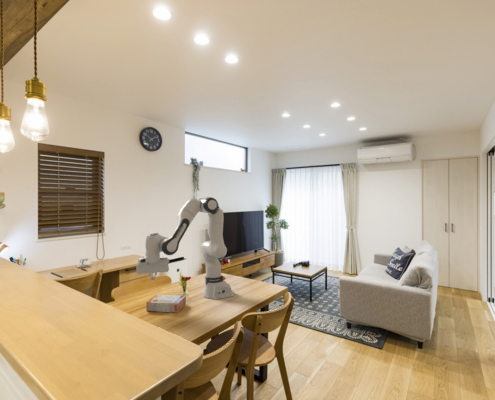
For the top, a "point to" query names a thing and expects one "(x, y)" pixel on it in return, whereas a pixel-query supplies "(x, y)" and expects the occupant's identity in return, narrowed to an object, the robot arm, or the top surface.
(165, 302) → the cracker box
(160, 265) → the robot arm
